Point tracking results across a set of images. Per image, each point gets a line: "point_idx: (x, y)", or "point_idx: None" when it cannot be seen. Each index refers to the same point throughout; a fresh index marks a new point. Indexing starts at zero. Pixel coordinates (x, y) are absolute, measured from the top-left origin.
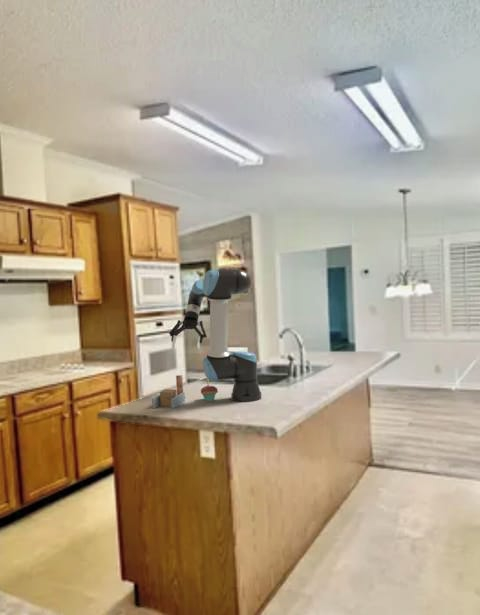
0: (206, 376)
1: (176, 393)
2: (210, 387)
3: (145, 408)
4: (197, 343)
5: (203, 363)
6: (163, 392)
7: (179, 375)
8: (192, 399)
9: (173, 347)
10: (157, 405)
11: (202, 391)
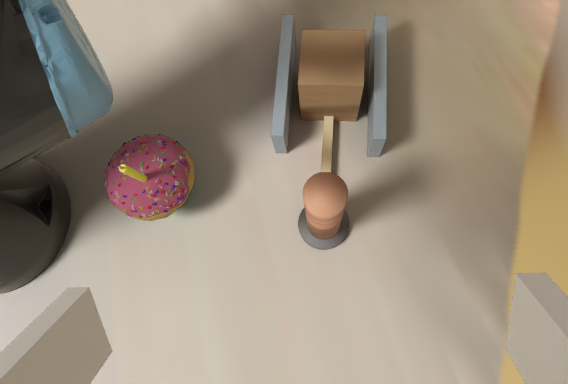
0: (105, 75)
1: (299, 94)
2: (129, 149)
3: (410, 39)
4: (44, 329)
5: (71, 30)
6: (345, 32)
7: (325, 200)
8: (252, 198)
9: (514, 327)
10: (369, 62)
11: (176, 141)
